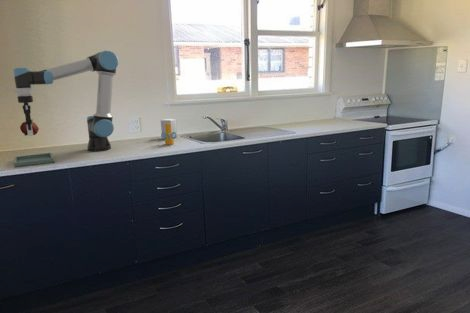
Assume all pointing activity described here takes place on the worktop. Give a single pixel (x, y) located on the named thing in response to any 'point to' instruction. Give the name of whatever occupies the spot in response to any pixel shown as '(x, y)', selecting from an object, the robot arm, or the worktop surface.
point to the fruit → (24, 128)
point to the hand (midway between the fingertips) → (30, 134)
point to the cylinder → (168, 135)
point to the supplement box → (173, 126)
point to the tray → (33, 160)
